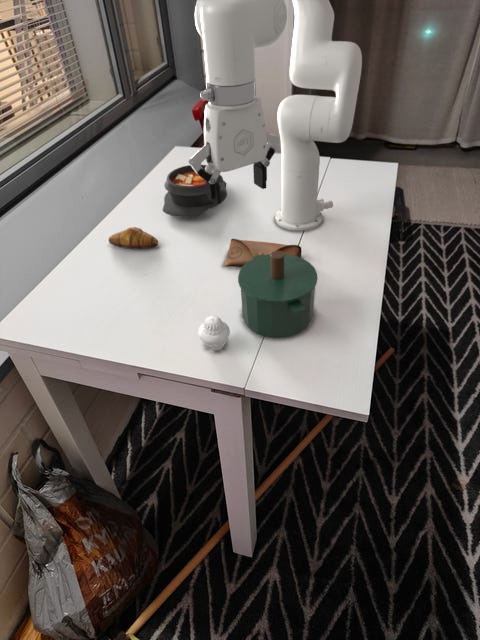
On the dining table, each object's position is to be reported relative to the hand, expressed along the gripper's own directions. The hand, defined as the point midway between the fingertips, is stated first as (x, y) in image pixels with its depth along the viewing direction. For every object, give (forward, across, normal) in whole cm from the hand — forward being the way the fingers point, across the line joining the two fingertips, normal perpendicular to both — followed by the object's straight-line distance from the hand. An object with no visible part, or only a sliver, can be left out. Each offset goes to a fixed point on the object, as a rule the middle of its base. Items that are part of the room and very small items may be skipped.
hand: (237, 193), depth 84 cm
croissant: (+26, -11, +37) cm, 46 cm away
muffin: (+26, -12, -8) cm, 30 cm away
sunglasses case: (+26, +12, +11) cm, 30 cm away
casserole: (+26, +14, +48) cm, 56 cm away
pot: (+26, +4, -7) cm, 27 cm away
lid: (+16, +4, -7) cm, 18 cm away
